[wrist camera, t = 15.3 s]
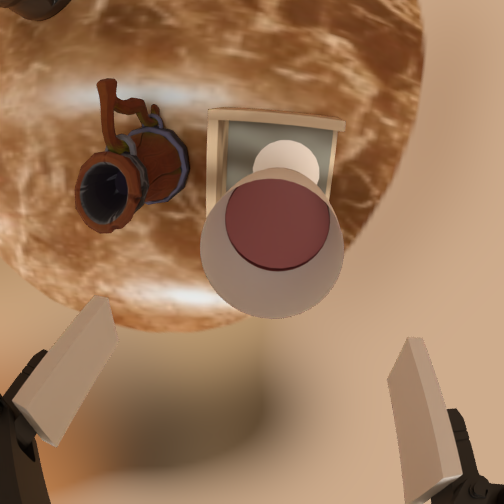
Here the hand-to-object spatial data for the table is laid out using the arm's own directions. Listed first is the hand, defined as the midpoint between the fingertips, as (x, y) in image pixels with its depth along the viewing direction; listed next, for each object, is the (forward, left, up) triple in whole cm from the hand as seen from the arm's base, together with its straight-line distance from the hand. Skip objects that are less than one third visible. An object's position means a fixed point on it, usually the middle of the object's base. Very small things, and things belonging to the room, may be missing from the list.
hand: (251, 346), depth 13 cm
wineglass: (0, 0, -31) cm, 31 cm away
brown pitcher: (-3, -18, -33) cm, 37 cm away
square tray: (0, -1, -32) cm, 32 cm away
